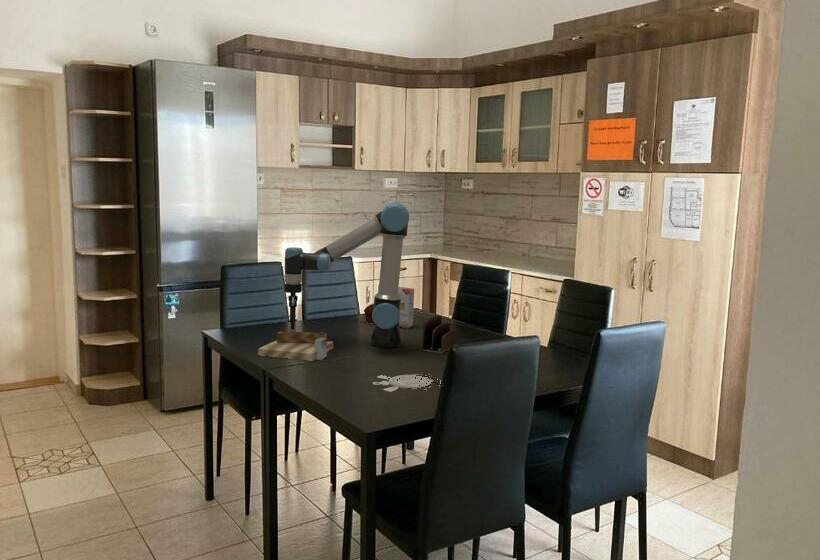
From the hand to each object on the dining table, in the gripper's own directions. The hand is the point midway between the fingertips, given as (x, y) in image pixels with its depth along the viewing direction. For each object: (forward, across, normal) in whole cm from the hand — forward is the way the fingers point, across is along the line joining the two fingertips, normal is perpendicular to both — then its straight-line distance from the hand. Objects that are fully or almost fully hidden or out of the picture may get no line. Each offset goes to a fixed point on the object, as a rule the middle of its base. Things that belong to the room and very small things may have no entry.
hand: (292, 336), depth 293 cm
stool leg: (+2, +4, +4) cm, 6 cm away
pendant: (+5, +57, +43) cm, 72 cm away
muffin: (+6, -55, +43) cm, 70 cm away
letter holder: (+5, +4, +66) cm, 66 cm away
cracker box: (+6, -44, +55) cm, 70 cm away
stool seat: (+5, +9, +2) cm, 10 cm away
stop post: (+5, +20, +12) cm, 23 cm away
